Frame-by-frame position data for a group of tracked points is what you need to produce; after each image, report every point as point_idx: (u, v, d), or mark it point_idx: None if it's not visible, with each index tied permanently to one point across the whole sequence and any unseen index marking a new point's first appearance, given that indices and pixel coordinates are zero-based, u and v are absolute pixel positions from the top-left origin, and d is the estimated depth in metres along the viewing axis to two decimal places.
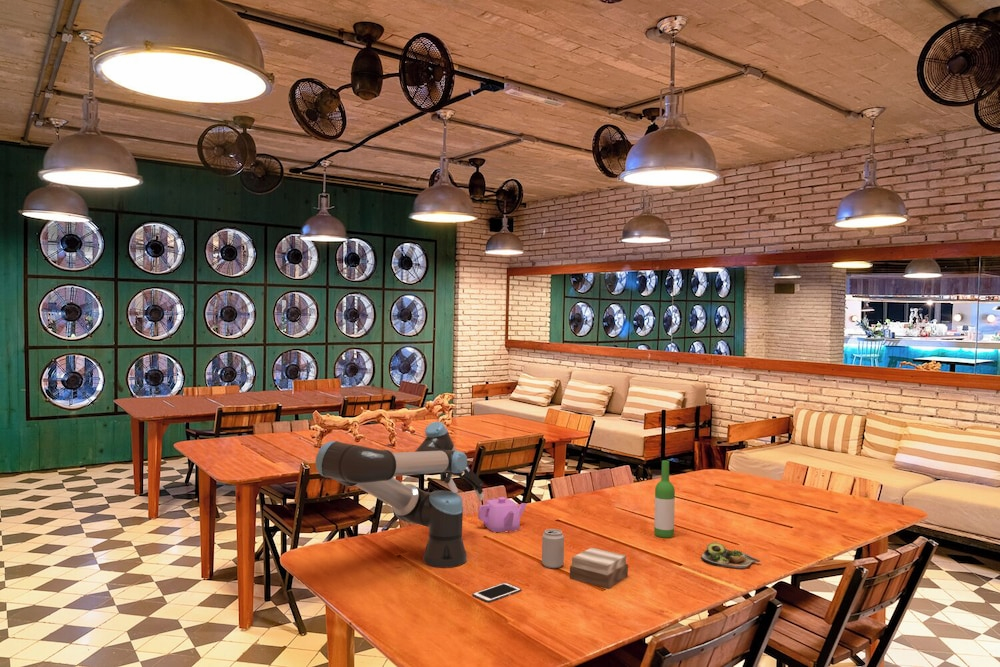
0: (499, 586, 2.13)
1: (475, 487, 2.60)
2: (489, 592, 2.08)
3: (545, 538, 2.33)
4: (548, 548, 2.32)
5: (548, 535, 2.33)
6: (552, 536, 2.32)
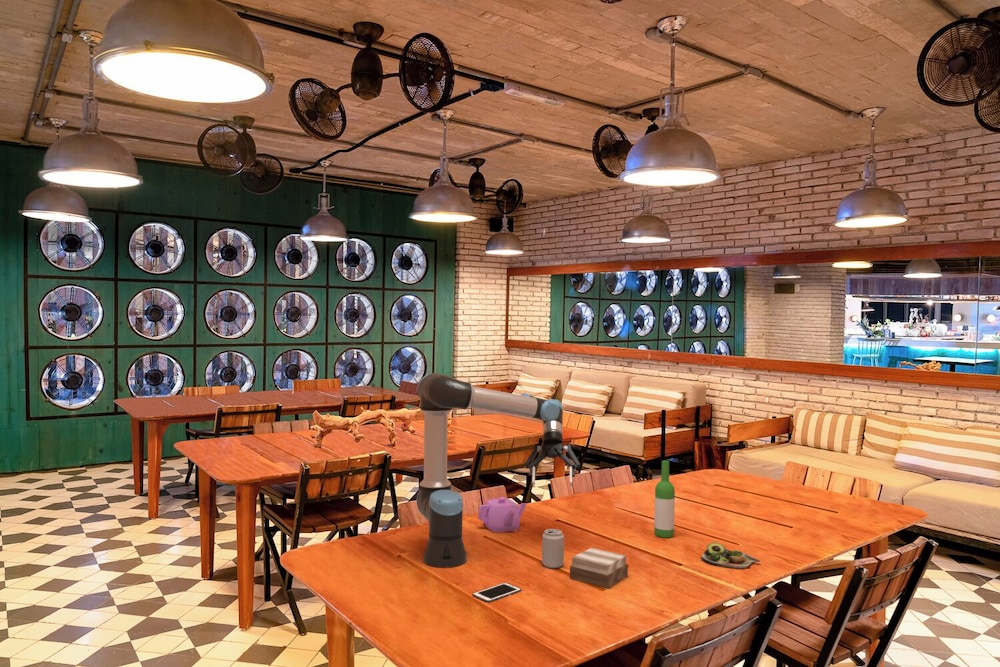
0: (499, 586, 2.13)
1: (572, 464, 2.50)
2: (489, 592, 2.08)
3: (545, 538, 2.33)
4: (548, 548, 2.32)
5: (548, 535, 2.33)
6: (552, 536, 2.32)
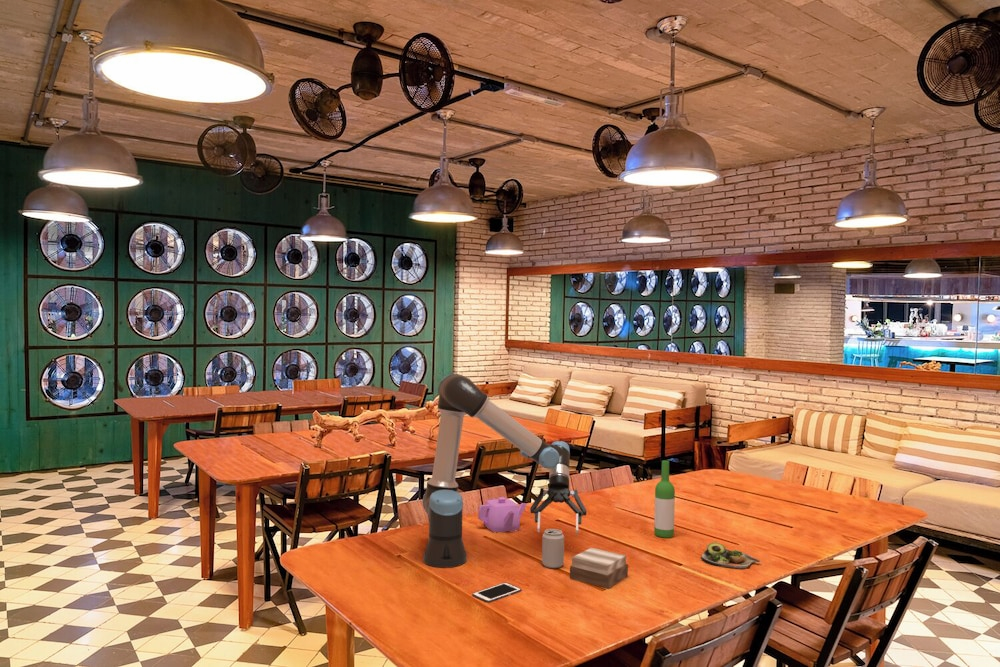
0: (499, 586, 2.13)
1: None
2: (489, 592, 2.08)
3: (545, 538, 2.33)
4: (548, 548, 2.32)
5: (548, 535, 2.33)
6: (552, 536, 2.32)
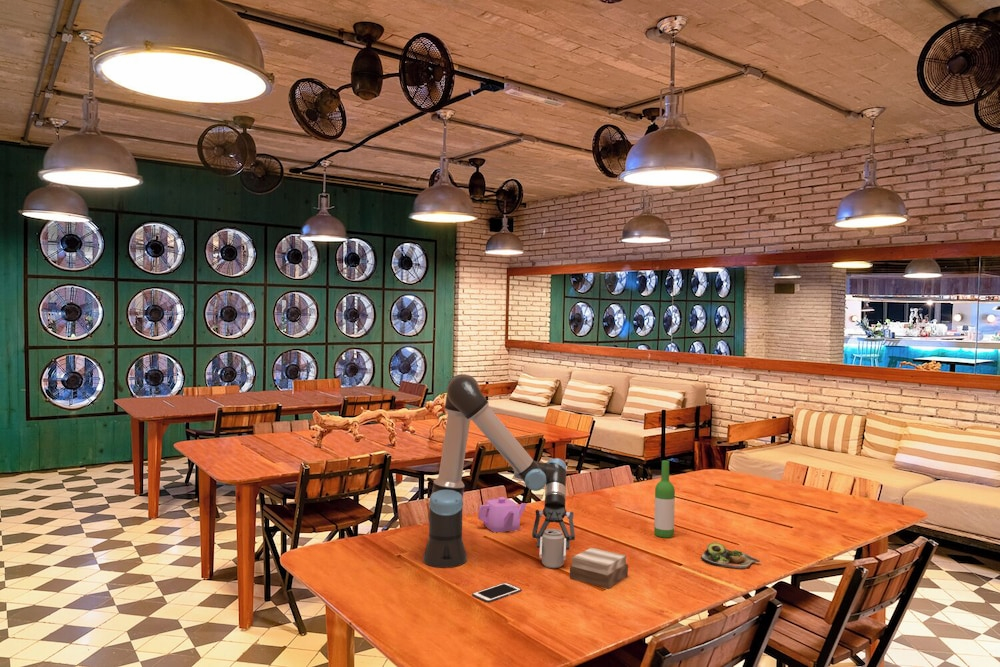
0: (499, 586, 2.13)
1: (567, 535, 2.35)
2: (489, 592, 2.08)
3: (545, 538, 2.33)
4: (548, 548, 2.32)
5: (548, 535, 2.33)
6: (552, 536, 2.32)
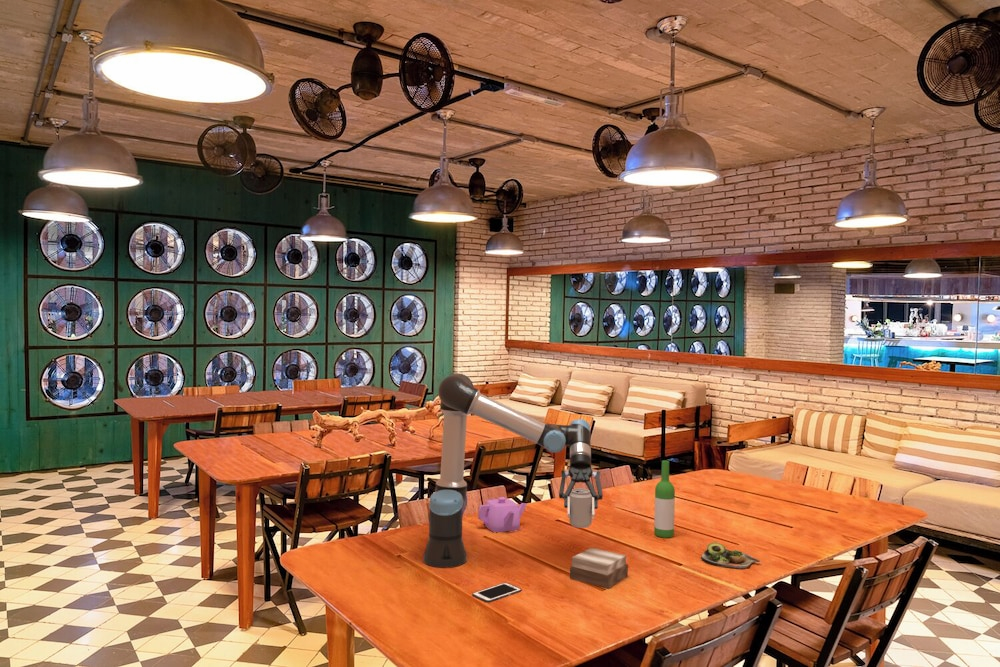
0: (499, 586, 2.13)
1: (595, 495, 2.31)
2: (489, 592, 2.08)
3: (573, 497, 2.28)
4: (576, 507, 2.27)
5: (576, 494, 2.28)
6: (580, 495, 2.27)
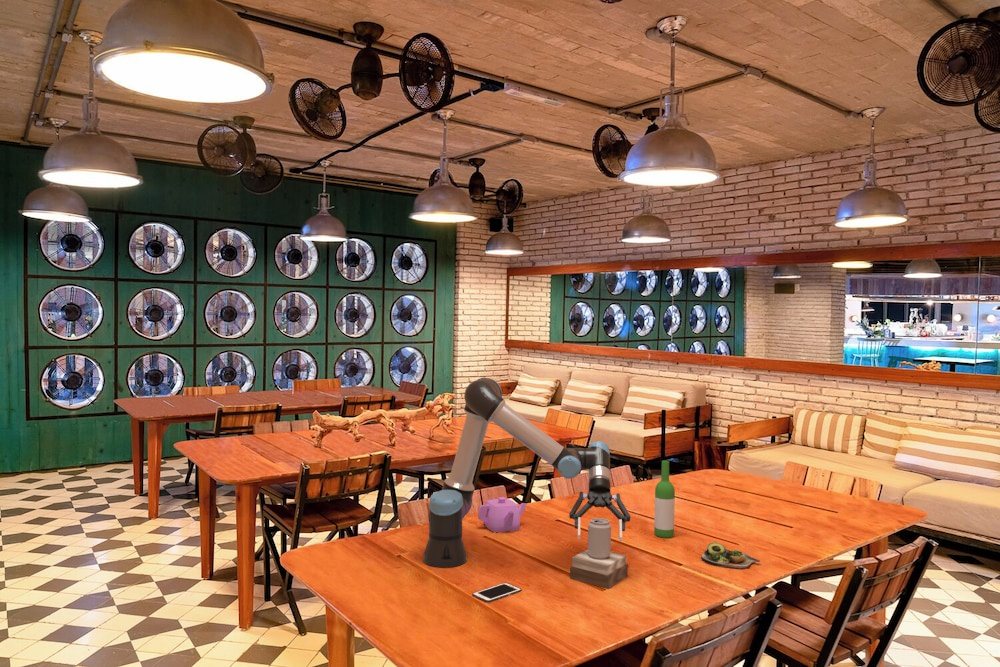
0: (499, 586, 2.13)
1: (622, 517, 2.25)
2: (489, 592, 2.08)
3: (591, 527, 2.22)
4: (595, 537, 2.21)
5: (595, 524, 2.22)
6: (599, 525, 2.21)
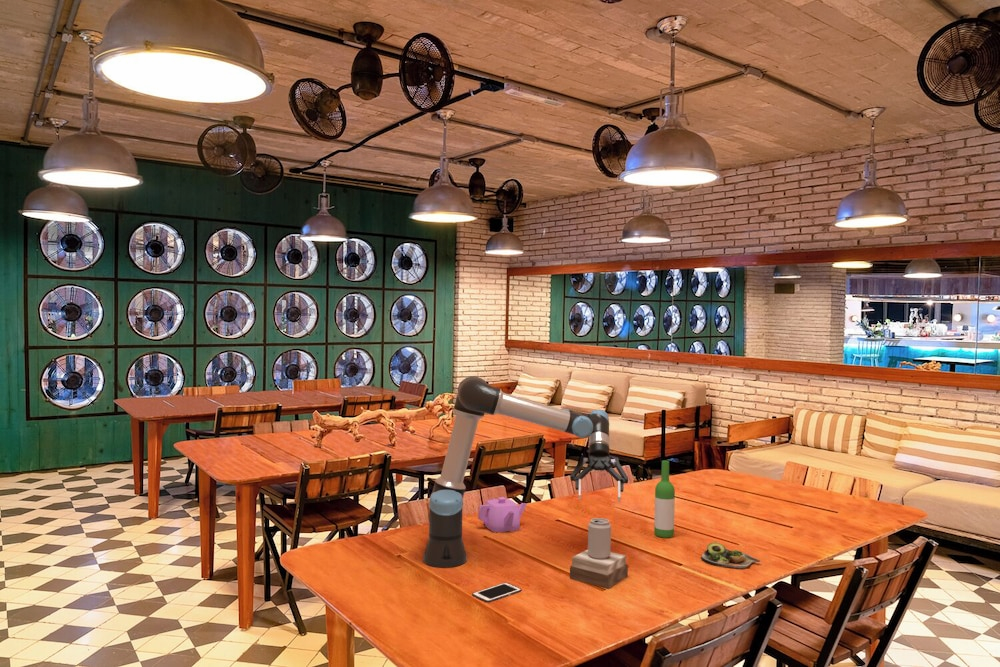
0: (499, 586, 2.13)
1: (621, 478, 2.38)
2: (489, 592, 2.08)
3: (592, 527, 2.22)
4: (595, 537, 2.21)
5: (595, 524, 2.22)
6: (599, 525, 2.21)
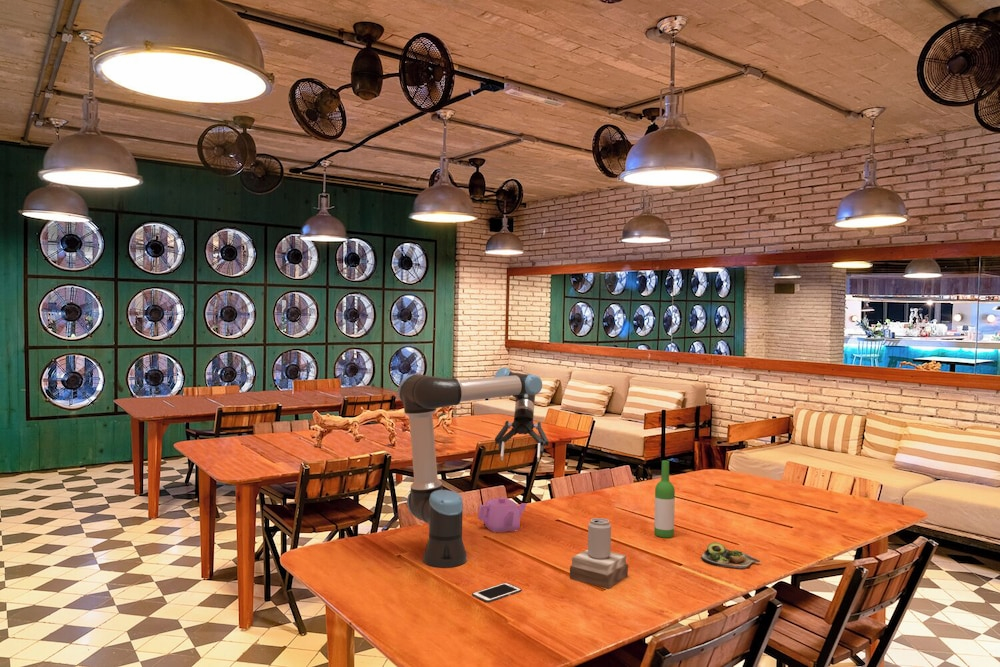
0: (499, 586, 2.13)
1: (541, 441, 2.54)
2: (489, 592, 2.08)
3: (592, 527, 2.22)
4: (595, 537, 2.21)
5: (595, 524, 2.22)
6: (599, 525, 2.21)
